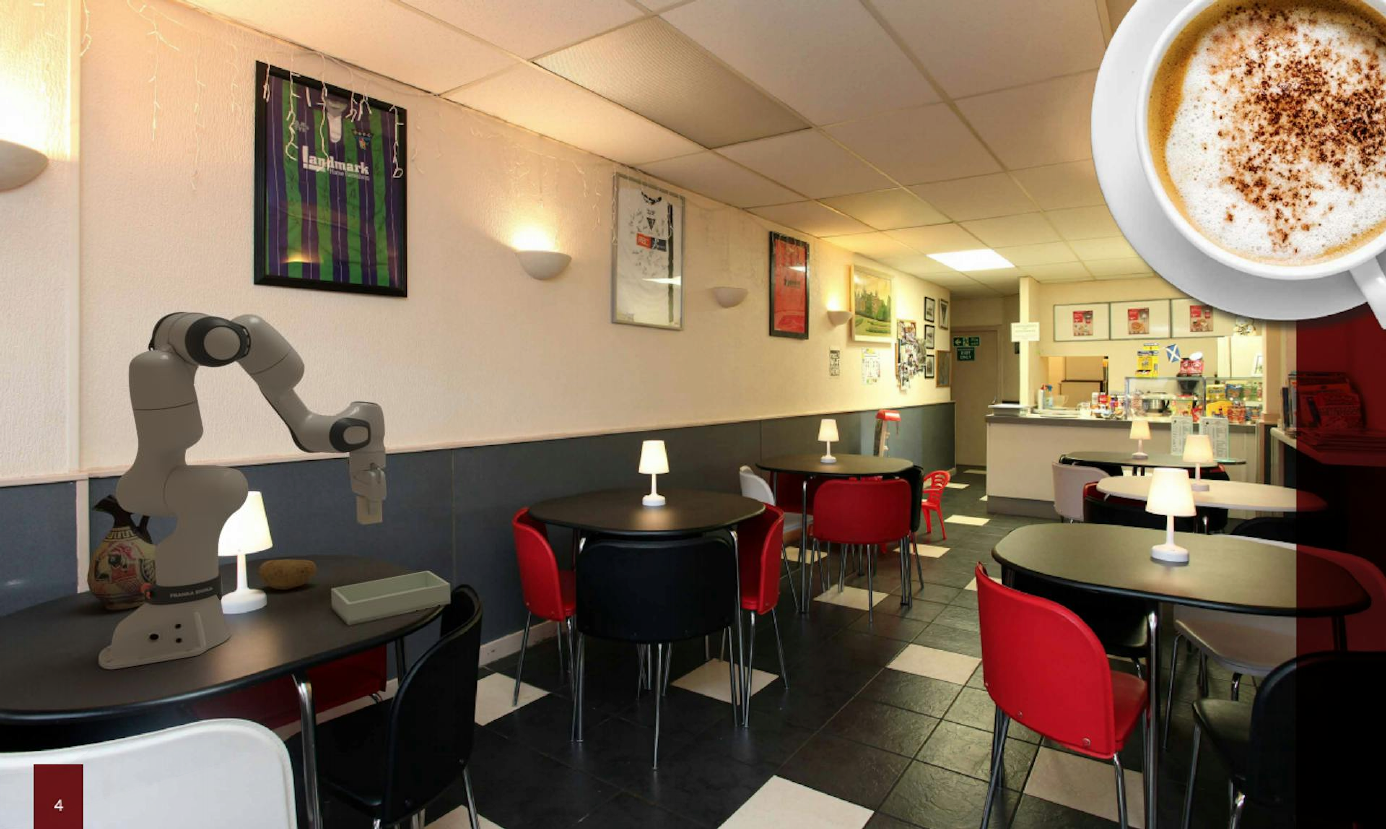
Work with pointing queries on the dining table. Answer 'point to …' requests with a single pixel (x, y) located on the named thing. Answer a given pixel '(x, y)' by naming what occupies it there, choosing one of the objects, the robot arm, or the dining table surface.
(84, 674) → the dining table surface
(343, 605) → the tote
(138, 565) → the ceramic jug
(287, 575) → the potato
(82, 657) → the dining table surface
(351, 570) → the dining table surface
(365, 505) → the carton
